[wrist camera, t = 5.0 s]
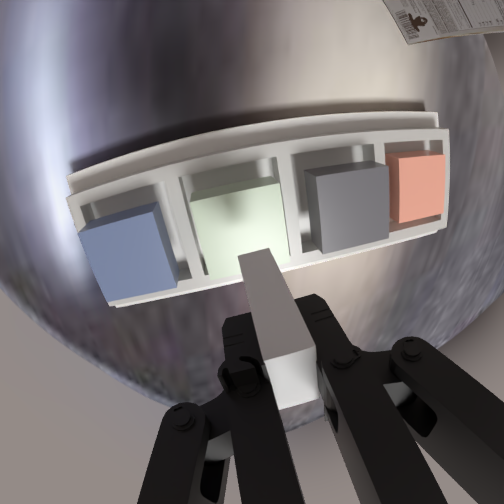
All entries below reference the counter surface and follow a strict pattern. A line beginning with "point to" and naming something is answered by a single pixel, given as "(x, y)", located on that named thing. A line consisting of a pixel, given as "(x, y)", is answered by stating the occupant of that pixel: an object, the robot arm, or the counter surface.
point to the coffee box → (446, 18)
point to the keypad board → (252, 167)
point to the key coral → (415, 184)
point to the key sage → (239, 223)
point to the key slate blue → (130, 252)
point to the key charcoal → (348, 204)
